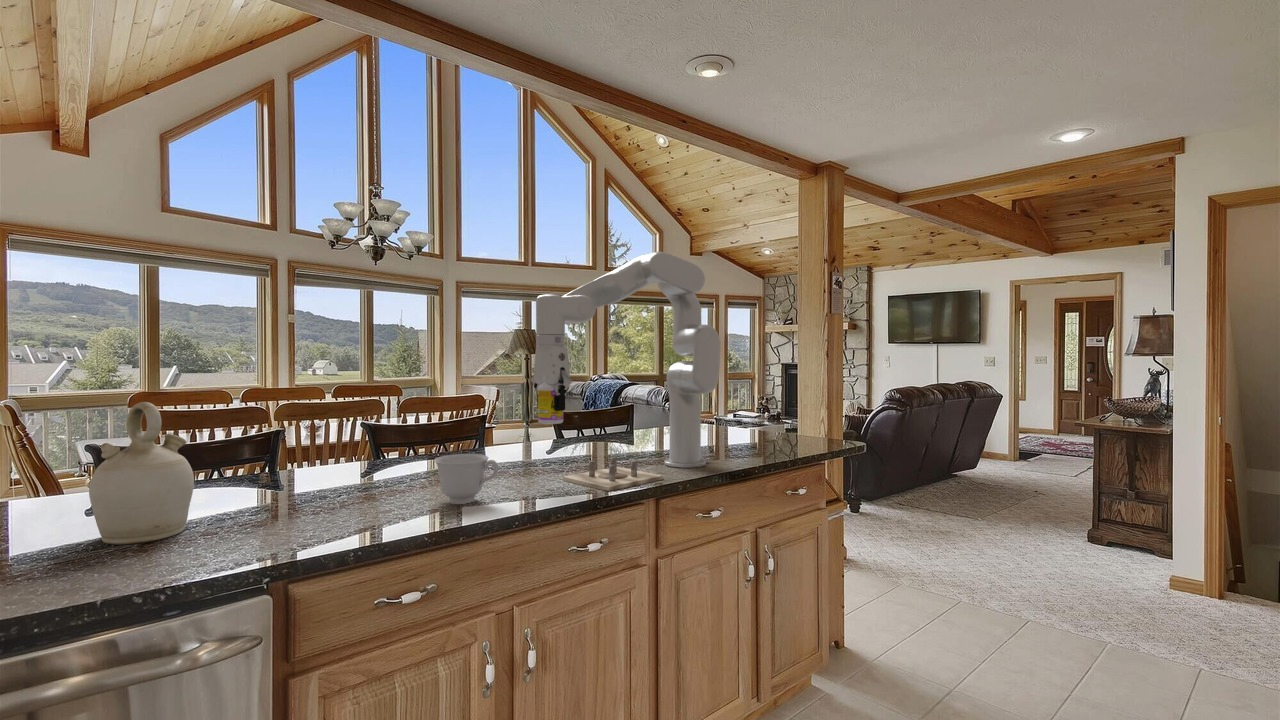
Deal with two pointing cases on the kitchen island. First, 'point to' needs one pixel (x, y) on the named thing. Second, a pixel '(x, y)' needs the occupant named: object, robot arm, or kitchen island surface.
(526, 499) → the kitchen island surface
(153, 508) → the jug
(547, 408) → the supplement bottle
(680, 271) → the robot arm
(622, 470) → the holder
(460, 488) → the teacup
